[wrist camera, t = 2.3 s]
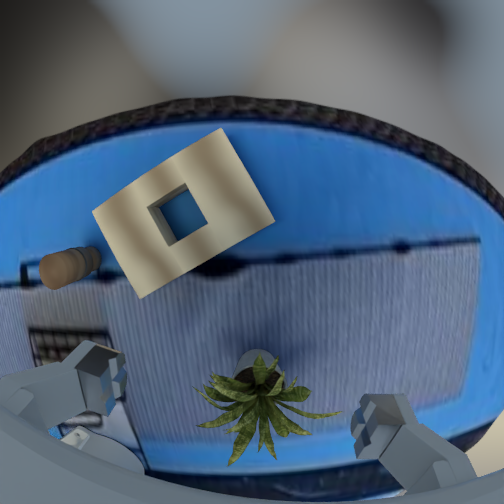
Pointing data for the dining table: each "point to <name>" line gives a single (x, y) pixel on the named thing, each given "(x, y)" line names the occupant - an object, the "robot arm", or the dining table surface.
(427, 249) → the dining table surface
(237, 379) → the house plant
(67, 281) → the peg
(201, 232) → the seat block
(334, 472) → the dining table surface
